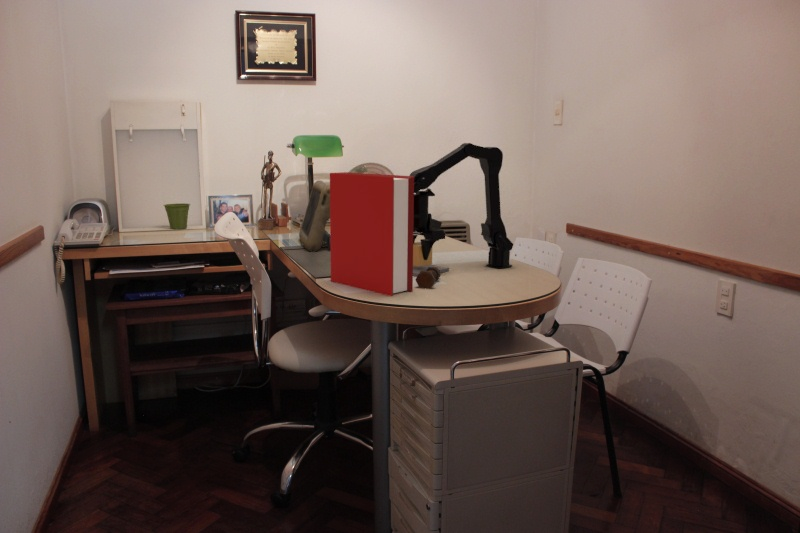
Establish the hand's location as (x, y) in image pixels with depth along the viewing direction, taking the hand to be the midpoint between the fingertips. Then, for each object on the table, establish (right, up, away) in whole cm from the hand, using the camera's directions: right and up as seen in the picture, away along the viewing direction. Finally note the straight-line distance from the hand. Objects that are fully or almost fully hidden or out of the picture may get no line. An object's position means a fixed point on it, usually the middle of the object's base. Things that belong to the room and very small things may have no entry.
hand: (418, 258), depth 209 cm
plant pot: (-110, +15, +93) cm, 144 cm away
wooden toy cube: (0, -2, 0) cm, 2 cm away
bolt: (+3, -8, -17) cm, 19 cm away
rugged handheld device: (-39, +6, +50) cm, 64 cm away
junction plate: (0, -4, +1) cm, 4 cm away
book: (-15, -8, -22) cm, 28 cm away
